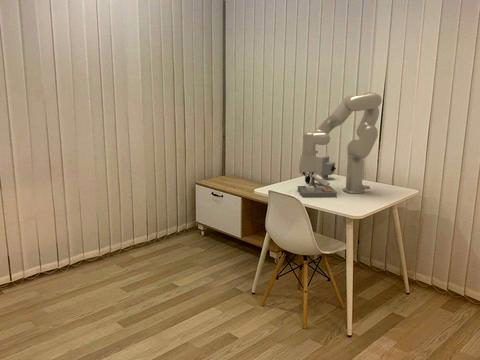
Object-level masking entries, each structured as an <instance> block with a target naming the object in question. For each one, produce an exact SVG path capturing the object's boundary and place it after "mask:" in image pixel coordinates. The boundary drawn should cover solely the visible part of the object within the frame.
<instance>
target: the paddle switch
mask: <svg viewBox="0 0 480 360" xmlns="http://www.w3.org/2000/svg"><path fill="white" fill-rule="evenodd" d="M308 186H314V188H316V186H317V185H316V184H315V177H314V176H311V180H310V184H308Z"/></svg>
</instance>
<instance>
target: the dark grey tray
mask: <svg viewBox="0 0 480 360" xmlns="http://www.w3.org/2000/svg"><path fill="white" fill-rule="evenodd" d="M306 186H307V185H297V192H298V193H299V195H300V196H301V198H303V199H305V198H307V199H308V198H311V199H312V198H313V199H315V198H319V199H321V198H323V199H327V198H331V199H332V198H337V197H338V193H337V191H336V190H335V189H334V188H333V187H332V186H331V185H328V186H323V185H315V186H316V188H315V190H314V192H306V191H305V189H306ZM322 188H330V189H331V192H323V191H322Z"/></svg>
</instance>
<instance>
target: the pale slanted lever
mask: <svg viewBox="0 0 480 360" xmlns="http://www.w3.org/2000/svg"><path fill="white" fill-rule="evenodd" d="M308 175H309V172H307V176H308ZM312 176H314V177H315V181H316V183H319V184H320V186H330V184H331V183H330V182H329V181H328V180H326V179H323V178H322V177H321V176H319V175H317V174H313V175H312Z"/></svg>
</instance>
